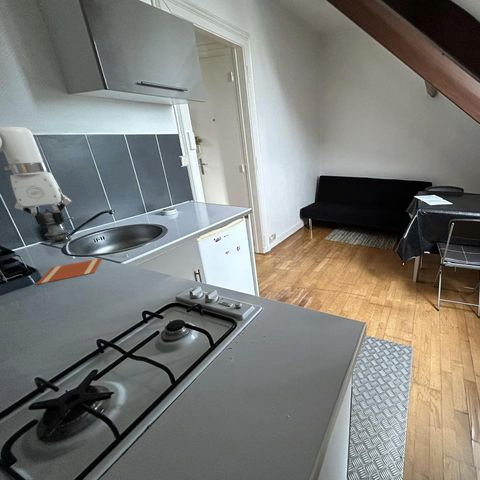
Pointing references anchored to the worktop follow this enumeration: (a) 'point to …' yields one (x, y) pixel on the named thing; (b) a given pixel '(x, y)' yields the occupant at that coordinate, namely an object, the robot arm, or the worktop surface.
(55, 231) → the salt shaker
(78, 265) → the towel
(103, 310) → the worktop surface
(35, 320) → the worktop surface
